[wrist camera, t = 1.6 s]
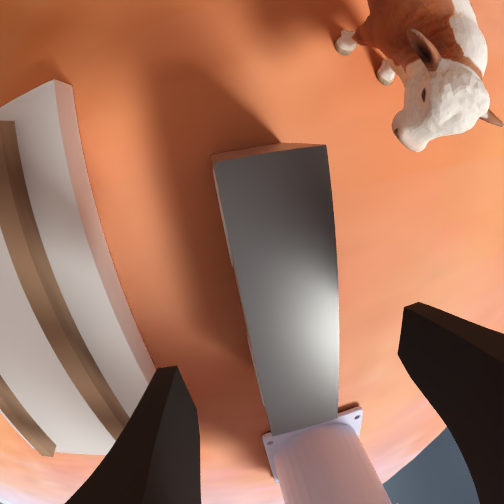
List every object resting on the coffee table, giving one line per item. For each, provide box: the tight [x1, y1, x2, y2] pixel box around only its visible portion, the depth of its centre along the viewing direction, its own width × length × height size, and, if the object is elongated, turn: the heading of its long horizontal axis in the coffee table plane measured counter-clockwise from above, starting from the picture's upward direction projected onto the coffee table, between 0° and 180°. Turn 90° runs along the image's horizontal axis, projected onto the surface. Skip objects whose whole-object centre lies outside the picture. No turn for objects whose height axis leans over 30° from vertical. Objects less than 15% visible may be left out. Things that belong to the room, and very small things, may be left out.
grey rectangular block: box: [210, 143, 339, 436], centre depth 13 cm, size 12×3×6 cm, turn 10°
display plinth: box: [0, 79, 156, 457], centre depth 12 cm, size 22×14×3 cm, turn 10°
